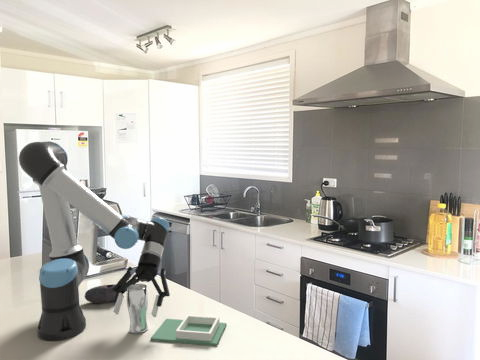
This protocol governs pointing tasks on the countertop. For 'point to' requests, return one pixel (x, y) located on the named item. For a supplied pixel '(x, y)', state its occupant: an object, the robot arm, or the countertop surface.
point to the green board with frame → (191, 330)
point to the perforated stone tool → (101, 294)
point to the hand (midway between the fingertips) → (134, 314)
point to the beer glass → (137, 307)
